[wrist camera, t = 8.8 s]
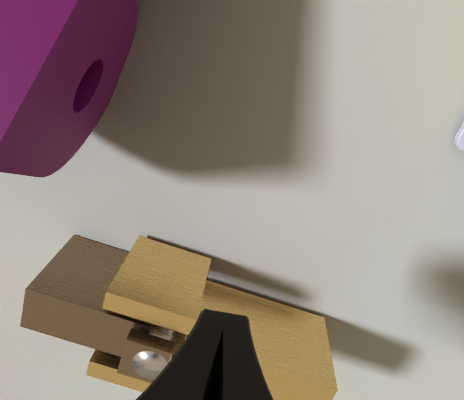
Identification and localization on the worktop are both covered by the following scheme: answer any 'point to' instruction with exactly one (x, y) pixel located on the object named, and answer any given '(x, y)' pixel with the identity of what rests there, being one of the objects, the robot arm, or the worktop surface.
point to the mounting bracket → (57, 76)
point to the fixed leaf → (94, 309)
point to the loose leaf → (224, 300)
